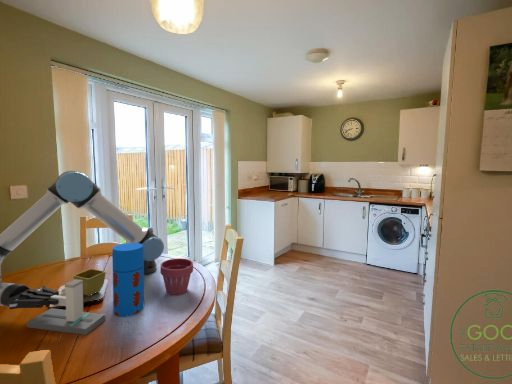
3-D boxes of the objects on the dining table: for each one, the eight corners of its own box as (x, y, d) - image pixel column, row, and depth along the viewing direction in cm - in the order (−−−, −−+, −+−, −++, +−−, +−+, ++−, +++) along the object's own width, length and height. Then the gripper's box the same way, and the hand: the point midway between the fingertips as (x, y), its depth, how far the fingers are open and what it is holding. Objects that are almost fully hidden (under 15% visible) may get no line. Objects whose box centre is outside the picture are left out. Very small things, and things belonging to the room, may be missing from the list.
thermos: (123, 320, 97) (122, 252, 95) (107, 311, 103) (106, 247, 100) (149, 307, 106) (149, 245, 104) (133, 299, 112) (132, 241, 110)
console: (27, 327, 91) (27, 321, 91) (51, 313, 100) (51, 307, 100) (85, 334, 88) (85, 328, 88) (105, 319, 97) (104, 314, 97)
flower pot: (106, 291, 119) (106, 271, 118) (88, 299, 111) (88, 278, 110) (91, 287, 122) (91, 268, 121) (73, 296, 114) (72, 275, 113)
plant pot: (196, 294, 118) (197, 266, 117) (163, 301, 111) (163, 271, 110) (188, 282, 131) (188, 256, 130) (157, 287, 124) (157, 260, 123)
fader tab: (65, 320, 92) (64, 284, 90) (75, 314, 96) (74, 279, 95) (74, 321, 91) (73, 285, 90) (83, 315, 95) (82, 280, 94)
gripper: (28, 296, 103) (84, 302, 99) (-10, 314, 90) (52, 322, 87) (28, 277, 102) (83, 283, 99) (-11, 292, 89) (51, 300, 86)
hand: (68, 301), depth 93 cm, fingers closed
